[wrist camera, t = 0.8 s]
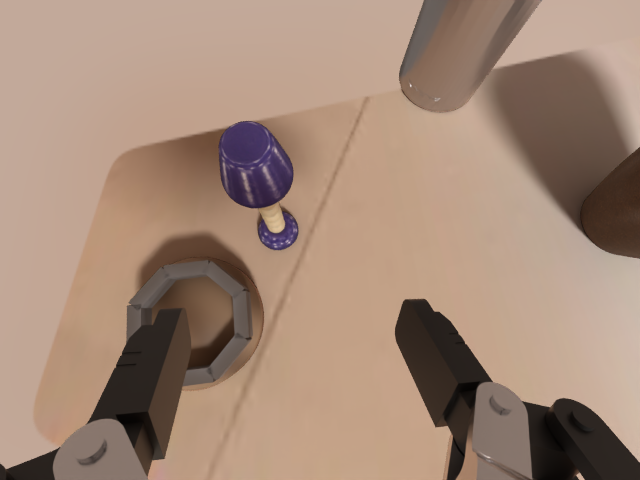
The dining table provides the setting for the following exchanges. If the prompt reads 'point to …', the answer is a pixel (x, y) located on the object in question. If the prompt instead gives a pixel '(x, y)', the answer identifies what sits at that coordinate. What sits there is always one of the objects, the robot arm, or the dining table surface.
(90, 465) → the robot arm
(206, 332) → the plinth
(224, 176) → the toy lamp
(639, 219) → the plant pot
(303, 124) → the dining table surface
